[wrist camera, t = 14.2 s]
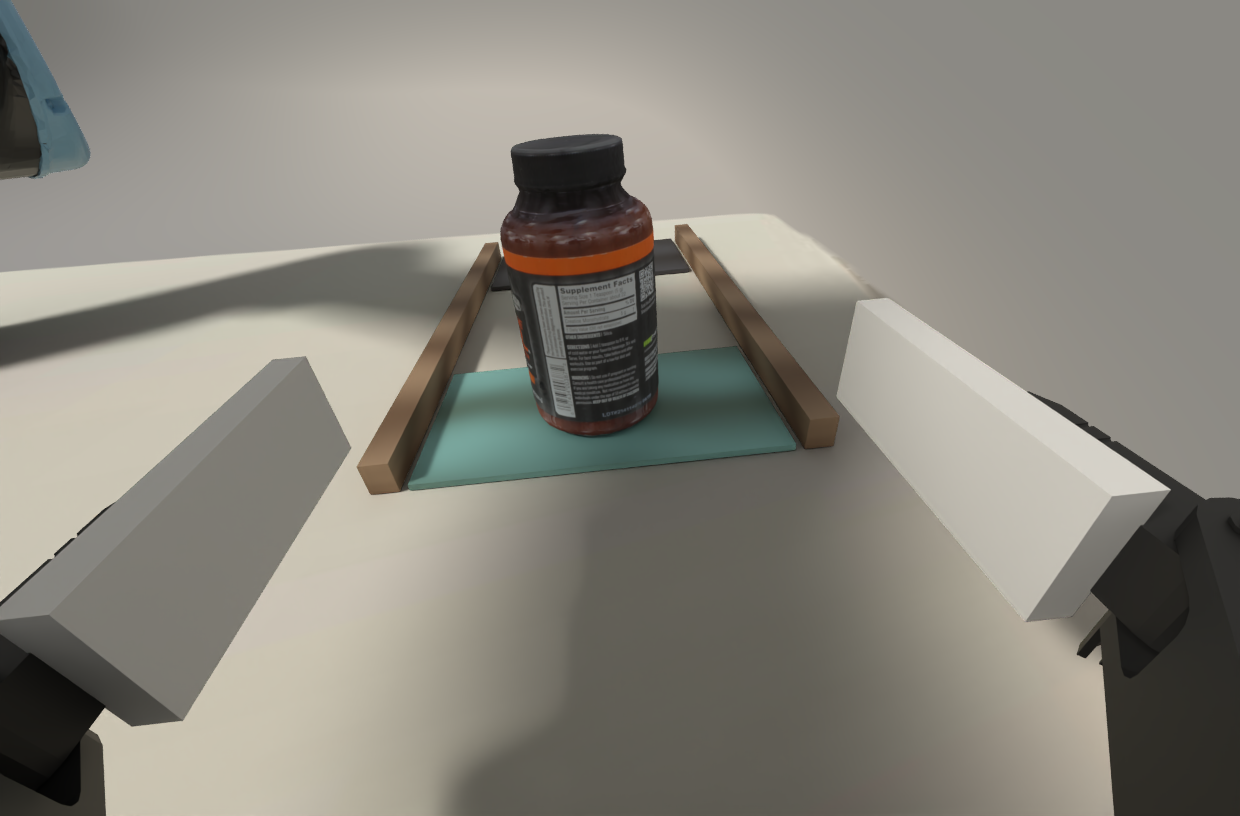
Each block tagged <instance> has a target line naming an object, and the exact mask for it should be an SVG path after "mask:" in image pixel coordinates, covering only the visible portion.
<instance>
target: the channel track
mask: <svg viewBox="0 0 1240 816" xmlns="http://www.w3.org/2000/svg"><path fill="white" fill-rule="evenodd" d="M675 242H676V244H677V245H678V247H679V249H680V250H681V252H682V253H683V255H684V257H685V258H686V260H687V261H688V263H689V265H690V266H691V268H692V269H693V271H694V273H695V274H696V276H697V277H698V279H699V281H700V282H701V284H702V285H703V287H704V289H705V290H706V292H707V293H708V295H709V297H710V298H711V300H712V301H713V303H714V305H715V306H716V308H717V309H718V311H719V313H720V314H721V316H722V317H723V319H724V320H725V322H726V324H727V325H728V327H729V328H730V330H731V332H732V333H733V335H734V336H735V338H736V340H737V341H738V343H739V344H740V346H741V348H742V349H743V351H744V352H745V354H746V356H747V357H748V359H749V360H750V362H751V364H752V365H753V367H754V368H755V370H756V372H757V373H758V375H759V376H760V378H761V380H762V381H763V383H764V384H765V386H766V388H767V389H768V391H769V392H770V394H771V396H772V397H773V399H774V400H775V402H776V404H777V405H778V407H779V408H780V410H781V412H782V413H783V415H784V416H785V418H786V420H787V421H788V423H789V424H790V426H791V428H792V429H793V431H794V432H795V434H796V435H797V437H798V439H799V440H800V442H801V443H802V445H803V447H804V448H805V449H809V448H818V447H828V446H833V445H834V440H835V436H836V432H837V427H838V423H839V418H840V416H839V415H838V414H837V412H836V411H835V410H834V409H833V407H832V406H831V405H830V404H829V402H828V401H827V400H826V398H825V397H824V396H823V395H822V393H821V392H820V391H819V390H818V388H817V387H816V386H815V385H814V383H813V382H812V381H811V380H810V378H809V377H808V376H807V374H806V373H805V372H804V371H803V369H802V368H801V367H800V366H799V364H798V363H797V362H796V361H795V359H794V358H793V357H792V356H791V354H790V353H789V352H788V351H787V349H786V348H785V347H784V345H783V344H782V343H781V342H780V340H779V339H778V338H777V337H776V335H775V334H774V333H773V332H772V330H771V329H770V328H769V327H768V325H767V324H766V323H765V321H764V320H763V319H762V318H761V316H760V315H759V314H758V313H757V311H756V310H755V309H754V308H753V306H752V305H751V304H750V303H749V301H748V300H747V299H746V298H745V296H744V295H743V294H742V292H741V291H740V290H739V289H738V287H737V286H736V285H735V284H734V282H733V281H732V280H731V279H730V277H729V276H728V275H727V274H726V272H725V271H724V270H723V268H722V267H721V266H720V265H719V263H718V262H717V261H716V260H715V258H714V257H713V256H712V255H711V253H710V252H709V251H708V250H707V248H706V247H705V246H704V244H703V243H702V242H701V241H700V239H699V238H698V237H697V236H696V234H695V233H694V232H693V231H692V229H691V228H690V227H689V226H688V224H684V225H675ZM654 256H655V259H654V262H655V275H661V274H672V273H682V272H689V268H688V266H687V264H686V263H685V261H684V259H683V258H682V256H681V254H680V253H679V251H678V250H677V248H676V246H675V245H674V243H673V241H672V240H671V239H662V240H654ZM500 260H501V254H500V249H499V244H498V242H494V243H485V245H484V247H483V248H482V250H481V252H480V254H479V255H478V257H477V259H476V260H475V262H474V264H473V266H472V267H471V269H470V271H469V273H468V274H467V276H466V278H465V280H464V281H463V283H462V285H461V286H460V288H459V290H458V292H457V293H456V295H455V297H454V299H453V300H452V302H451V304H450V306H449V307H448V309H447V311H446V313H445V314H444V316H443V318H442V319H441V321H440V323H439V325H438V326H437V328H436V330H435V332H434V333H433V335H432V337H431V339H430V340H429V342H428V344H427V346H426V347H425V349H424V351H423V352H422V354H421V356H420V358H419V359H418V361H417V363H416V365H415V366H414V368H413V370H412V372H411V373H410V375H409V377H408V379H407V380H406V382H405V384H404V385H403V387H402V389H401V391H400V392H399V394H398V396H397V398H396V399H395V401H394V403H393V405H392V406H391V408H390V410H389V412H388V413H387V415H386V417H385V418H384V420H383V422H382V424H381V425H380V427H379V429H378V431H377V432H376V434H375V436H374V438H373V439H372V441H371V443H370V445H369V446H368V448H367V450H366V451H365V453H364V455H363V457H362V458H361V460H360V462H359V464H358V465H357V469H358V471H359V473H360V475H361V477H362V479H363V481H364V483H365V485H366V487H367V489H368V491H369V493H370V494H371V495H372V494H381V493H391V492H400V490H401V488H402V486H403V484H404V481H405V479H406V477H407V474H408V472H409V470H410V467H411V465H412V463H413V461H414V458H415V456H416V454H417V451H418V449H419V447H420V444H421V442H422V440H423V438H424V435H425V433H426V431H427V428H428V426H429V424H430V421H431V419H432V417H433V414H434V412H435V410H436V408H437V405H438V403H439V401H440V398H441V396H442V394H443V391H444V389H445V387H446V385H447V382H448V380H449V378H450V375H451V373H452V371H453V368H454V366H455V364H456V362H457V359H458V357H459V355H460V352H461V350H462V348H463V345H464V343H465V341H466V338H467V336H468V334H469V332H470V329H471V327H472V325H473V322H474V320H475V318H476V315H477V313H478V311H479V309H480V306H481V304H482V302H483V299H484V297H485V295H486V292H487V290H488V288H489V286H490V283H491V281H492V279H493V276H494V274H495V272H496V269H497V267H498V265H499V263H500ZM491 289H492V291H497V290H507V289H511V287H510V281H509V278H508V272H507V267H506V262H505V257H504V258H503V260H502V263H501V265H500V267H499V270H498V272H497V275H496V277H495V279H494V282H493V284H492V286H491ZM658 376H659V384H658V398H657V402H656V404H655V406H654V408H653V409H652V411H651V412H650V413H649V414H648V415H647V416H646V417H645V418H644V419H642V420H641V421H640V422H638V423H637V424H635V425H633V426H632V427H630V428H627V429H624V430H621V431H617V432H614V433H611V434H602V435H596V436H583V435H575V434H571V433H567V432H564V431H561V430H558V429H556V428H554V427H552V426H550V425H549V424H548V423H547V422H546V421H545V420H544V419H543V418H542V416H541V415H540V413H539V411H538V408H537V405H536V401H535V399H534V395H533V390H532V386H531V380H530V375H529V370H528V367H524V368H514V369H504V370H494V371H484V372H474V373H464V374H454V376H453V379H452V381H451V383H450V386H449V388H448V390H447V393H446V395H445V398H444V400H443V402H442V405H441V407H440V409H439V412H438V414H437V416H436V419H435V421H434V424H433V426H432V428H431V431H430V433H429V435H428V438H427V440H426V443H425V445H424V447H423V450H422V452H421V454H420V457H419V459H418V461H417V464H416V466H415V469H414V471H413V473H412V476H411V478H410V480H409V483H408V487H409V490H419V489H429V488H438V487H448V486H457V485H467V484H476V483H486V482H495V481H505V480H514V479H524V478H533V477H543V476H552V475H562V474H571V473H581V472H590V471H600V470H609V469H619V468H628V467H638V466H647V465H657V464H666V463H676V462H685V461H695V460H704V459H714V458H723V457H733V456H742V455H752V454H761V453H771V452H780V451H790V450H795V449H796V443H795V441H794V440H793V438H792V436H791V435H790V433H789V431H788V430H787V428H786V426H785V425H784V423H783V422H782V420H781V418H780V417H779V415H778V413H777V412H776V410H775V408H774V407H773V405H772V404H771V402H770V400H769V399H768V397H767V395H766V394H765V392H764V390H763V389H762V387H761V386H760V384H759V382H758V381H757V379H756V377H755V376H754V374H753V372H752V371H751V369H750V367H749V366H748V364H747V363H746V361H745V359H744V358H743V356H742V354H741V353H740V351H739V349H738V348H737V346H733V347H723V348H713V349H703V350H693V351H683V352H673V353H663V354H658Z"/></svg>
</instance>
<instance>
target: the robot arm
mask: <svg viewBox="0 0 1240 816" xmlns="http://www.w3.org/2000/svg"><path fill="white" fill-rule="evenodd" d="M89 159H90V149H89V146H88V143H87V141H86V139H85V137H84V135H83V133H82V131H81V129H80V127H79V125H78V123H77V121H76V119H75V117H74V115H73V114H72V112H71V110H70V108H69V106H68V105H67V103H66V101H65V100H64V98H63V95H62V93H61V91H60V90H59V88H58V86H57V83H56V81H55V79H54V77H53V76H52V73H51V72H50V70H49V68H48V66H47V64H46V62H45V61H44V59H43V57H42V55H41V53H40V51H39V50H38V48H37V46H36V44H35V42H34V41H33V39H32V37H31V35H30V33H29V31H28V30H27V28H26V26H25V24H24V22H23V21H22V19H21V17H20V15H19V14H18V12H17V10H16V9H15V7H14V5H13V3H12V1H11V0H0V180H4V179H12V178H20V177H29V178H33V179H36V178H43V177H44V176H46V175H48V174H49V173H54V172H61V171H67V170H73V169H78V168H80V167H83V166H84V165H85V164H87V162H88V161H89ZM836 397H837V398H838V400H839V401H840V402H841V403H842V404H843V406H844V407H845V408H846V409H847V410H848V412H849V413H850V414H851V415H852V416H853V417H854V419H855V420H856V421H857V422H858V423H859V425H860V426H861V427H862V428H863V429H864V431H865V432H866V433H867V434H868V435H869V437H870V438H871V439H872V440H873V441H874V443H875V444H876V445H877V446H878V447H879V449H880V450H881V451H882V452H883V453H884V454H885V456H886V457H887V458H888V459H889V460H890V462H891V463H892V464H893V465H894V466H895V468H896V469H897V470H898V471H899V472H900V474H901V475H902V476H903V477H904V478H905V480H906V481H907V482H908V483H909V484H910V486H911V487H912V488H913V489H914V490H915V492H916V493H917V494H918V495H919V496H920V497H921V499H922V500H923V501H924V502H925V503H926V505H927V506H928V507H929V508H930V509H931V511H932V512H933V513H934V514H935V515H936V517H937V518H938V519H939V520H940V521H941V523H942V524H943V525H944V526H945V527H946V529H947V530H948V531H949V532H950V533H951V534H952V536H953V537H954V538H955V539H956V540H957V542H958V543H959V544H960V545H961V546H962V548H963V549H964V550H965V551H966V552H967V554H968V555H969V556H970V557H971V558H972V560H973V561H974V562H975V563H976V564H977V566H978V567H979V568H980V569H981V570H982V572H983V573H984V574H985V575H986V576H987V577H988V579H989V580H990V581H991V582H992V583H993V585H994V586H995V587H996V588H997V589H998V591H999V592H1000V593H1001V594H1002V595H1003V597H1004V598H1005V599H1006V600H1007V601H1008V603H1009V604H1010V605H1011V606H1012V607H1013V609H1014V610H1015V611H1016V612H1017V613H1018V614H1019V616H1020V617H1021V618H1022V619H1023V620H1024V622H1030V621H1039V620H1047V619H1056V618H1064V617H1072V616H1073V615H1074V613H1075V612H1076V611H1077V610H1078V608H1079V607H1080V606H1081V604H1082V603H1083V602H1084V601H1085V599H1086V598H1087V597H1088V595H1089V594H1090V593H1091V592H1092V593H1093V594H1094V595H1095V596H1096V597H1097V598H1098V599H1099V600H1100V601H1101V602H1102V603H1103V604H1104V605H1105V606H1106V607H1107V608H1108V609H1109V610H1108V611H1107V613H1106V614H1105V615H1104V616H1103V617H1102V619H1101V620H1100V621H1099V622H1098V623H1097V625H1096V626H1095V627H1094V628H1093V629H1092V630H1091V632H1090V633H1089V634H1088V635H1087V636H1086V638H1085V639H1084V640H1083V641H1082V642H1081V643H1080V645H1079V648H1078V652H1077V655H1079V656H1081V657H1084V658H1086V657H1087V656H1088V655H1089V654H1090V653H1091V652H1092V651H1093V650H1094V648H1095V647H1096V646H1099V645H1101V650H1102V660H1101V661H1100V662H1099V664H1100V665H1103V676H1104V689H1105V702H1106V715H1107V728H1108V741H1109V754H1110V766H1111V779H1112V792H1113V805H1114V816H1240V499H1235V498H1209V499H1207V500H1205V499H1204V498H1202V497H1200V496H1199V495H1197V494H1196V493H1194V492H1193V491H1191V490H1190V489H1188V488H1187V487H1185V486H1183V485H1182V484H1180V483H1179V482H1178V481H1176V480H1174V479H1173V478H1172V477H1170V476H1169V475H1167V474H1165V473H1164V472H1162V471H1161V470H1159V469H1158V468H1156V467H1155V466H1153V465H1151V464H1150V463H1149V462H1147V461H1146V460H1144V459H1143V458H1141V457H1139V456H1138V455H1137V454H1135V453H1134V452H1132V451H1131V450H1129V449H1128V448H1126V447H1124V446H1123V445H1121V444H1120V443H1118V442H1117V441H1114V442H1112V441H1111V440H1110V437H1109V436H1108V435H1106V434H1105V433H1103V432H1102V431H1100V430H1099V429H1097V428H1096V427H1094V426H1091V427H1089V426H1088V422H1086V421H1085V420H1083V419H1082V418H1080V417H1079V416H1077V415H1076V414H1074V413H1073V412H1071V411H1070V410H1068V409H1067V408H1065V407H1063V406H1062V405H1060V404H1058V403H1055V402H1053V401H1050V400H1048V399H1045V398H1043V397H1041V396H1038V395H1036V394H1033V393H1031V392H1026V391H1025V390H1023V389H1022V388H1020V387H1019V386H1017V385H1016V384H1014V383H1013V382H1011V381H1010V380H1009V379H1007V378H1006V377H1004V376H1003V375H1001V374H1000V373H998V372H997V371H995V370H994V369H992V368H991V367H989V366H988V365H987V364H985V363H983V362H982V361H981V360H979V359H978V358H976V357H975V356H973V355H972V354H970V353H969V352H967V351H966V350H964V349H963V348H961V347H960V346H959V345H957V344H955V343H954V342H953V341H951V340H950V339H948V338H947V337H945V336H944V335H942V334H941V333H939V332H938V331H936V330H935V329H933V328H932V327H931V326H929V325H928V324H926V323H925V322H923V321H921V320H920V319H919V318H917V317H916V316H914V315H913V314H911V313H910V312H908V311H907V310H905V309H904V308H903V307H901V306H900V305H898V304H897V303H895V302H894V301H892V300H891V299H889V298H880V299H870V300H860V301H857V302H856V307H855V311H854V316H853V321H852V326H851V330H850V335H849V340H848V344H847V349H846V354H845V358H844V363H843V368H842V372H841V377H840V382H839V387H838V391H837V396H836ZM350 449H351V446H350V444H349V442H348V440H347V438H346V436H345V434H344V432H343V430H342V428H341V426H340V424H339V422H338V420H337V418H336V416H335V414H334V412H333V410H332V408H331V406H330V404H329V402H328V400H327V398H326V396H325V394H324V392H323V390H322V388H321V386H320V384H319V382H318V380H317V378H316V376H315V374H314V372H313V370H312V368H311V366H310V364H309V362H308V360H307V358H306V356H304V357H294V358H285V359H275V360H272V361H271V362H270V363H269V364H267V365H266V366H265V367H264V368H263V369H262V370H261V371H260V372H259V373H258V374H256V375H255V376H254V377H253V378H252V379H251V380H250V381H249V382H248V383H247V384H245V385H244V386H243V387H242V388H241V389H240V390H239V391H238V392H237V393H235V394H234V395H233V396H232V397H231V398H230V399H229V400H228V401H227V402H226V403H224V404H223V405H222V406H221V407H220V408H219V409H218V410H217V411H216V412H214V413H213V414H212V415H211V416H210V417H209V418H208V419H207V420H206V421H205V422H203V423H202V424H201V425H200V426H199V427H198V428H197V429H196V430H195V431H194V432H192V433H191V434H190V435H189V436H188V437H187V438H186V439H185V440H184V441H182V442H181V443H180V444H179V445H178V446H177V447H176V448H175V449H174V450H173V451H171V452H170V453H169V454H168V455H167V456H166V457H165V458H164V459H163V460H162V461H160V462H159V463H158V464H157V465H156V466H155V467H154V468H153V469H152V470H150V471H149V472H148V473H147V474H146V475H145V476H144V477H143V478H142V479H141V480H139V481H138V482H137V483H136V484H135V485H134V486H133V487H132V488H131V489H130V490H128V491H127V492H126V493H125V494H124V495H123V496H122V497H121V498H120V499H118V500H117V501H116V502H115V503H113V504H111V505H110V506H108V507H107V508H105V509H104V510H102V511H101V512H100V513H99V514H98V515H97V516H96V517H95V518H94V519H92V520H91V521H90V522H89V523H88V524H87V525H86V526H85V527H83V528H82V529H81V530H80V531H79V532H78V533H77V538H71V539H70V540H69V541H68V542H67V543H66V544H65V545H63V546H62V547H61V548H60V549H59V550H58V551H57V552H56V553H55V554H54V555H55V557H54V558H53V559H48V560H47V561H46V562H45V563H43V564H42V565H41V566H40V567H39V568H38V569H37V570H36V571H35V572H33V573H32V574H31V575H30V576H29V577H28V578H27V579H26V580H25V581H23V582H22V583H21V584H20V585H19V586H18V587H17V588H16V589H14V590H13V591H12V592H11V593H10V594H9V595H8V596H7V597H6V598H4V599H3V600H2V601H1V602H0V816H106V808H105V787H104V765H103V745H102V743H101V741H100V739H99V736H98V735H97V734H95V733H94V732H92V731H91V730H89V728H90V727H91V725H92V724H93V723H94V721H95V720H96V719H97V717H98V716H99V715H100V713H101V712H102V711H103V709H104V708H106V709H107V710H109V711H110V712H112V713H113V714H115V715H116V716H117V717H119V718H120V719H122V720H123V721H124V722H126V723H127V724H129V725H130V726H141V725H149V724H158V723H166V722H175V721H183V720H184V718H185V716H186V715H187V713H188V711H189V710H190V708H191V707H192V705H193V703H194V702H195V700H196V699H197V697H198V695H199V694H200V692H201V690H202V689H203V687H204V686H205V684H206V682H207V681H208V679H209V678H210V676H211V674H212V673H213V671H214V669H215V668H216V666H217V665H218V663H219V661H220V660H221V658H222V656H223V655H224V653H225V652H226V650H227V648H228V647H229V645H230V644H231V642H232V640H233V639H234V637H235V635H236V634H237V632H238V631H239V629H240V627H241V626H242V624H243V623H244V621H245V619H246V618H247V616H248V614H249V613H250V611H251V610H252V608H253V606H254V605H255V603H256V601H257V600H258V598H259V597H260V595H261V593H262V592H263V590H264V589H265V587H266V585H267V584H268V582H269V580H270V579H271V577H272V576H273V574H274V572H275V571H276V569H277V567H278V566H279V564H280V563H281V561H282V559H283V558H284V556H285V555H286V553H287V551H288V550H289V548H290V546H291V545H292V543H293V542H294V540H295V538H296V537H297V535H298V534H299V532H300V530H301V529H302V527H303V525H304V524H305V522H306V521H307V519H308V517H309V516H310V514H311V512H312V511H313V509H314V508H315V506H316V504H317V503H318V501H319V500H320V498H321V496H322V495H323V493H324V491H325V490H326V488H327V487H328V485H329V483H330V482H331V480H332V479H333V477H334V475H335V474H336V472H337V470H338V469H339V467H340V466H341V464H342V462H343V461H344V459H345V457H346V456H347V454H348V453H349V451H350Z"/></svg>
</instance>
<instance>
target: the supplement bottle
mask: <svg viewBox="0 0 1240 816" xmlns="http://www.w3.org/2000/svg"><path fill="white" fill-rule="evenodd" d="M511 158H512V163H513V171H514V182H515V185H516V186H517V187H518V188H519V191H520V192H519V195H518V198H517V201H516V203H515V206H514V208H513V210H512V211H510V212H509V213H508V214H507V216H506V217H505V219H504V221H503V224H502V227H501V231H500V232H501V242H502V248H503V253H504V257H505V262H506V267H507V272H508V278H509V281H510V287H511V291H512V297H513V301H514V306H515V311H516V314H517V318H518V323H519V328H520V333H521V337H522V342H523V347H524V351H525V357H526V361H527V367H528V370H529V375H530V380H531V386H532V390H533V395H534V399H535V401H536V405H537V408H538V411H539V413H540V415H541V416H542V418H543V419H544V420H545V421H546V422H547V423H548V424H549V425H550V426H552V427H554V428H556V429H558V430H561V431H564V432H567V433H571V434H575V435H583V436H596V435H602V434H611V433H614V432H617V431H621V430H624V429H627V428H630V427H632V426H633V425H635V424H637V423H638V422H640V421H641V420H642V419H644V418H645V417H646V416H647V415H648V414H649V413H650V412H651V411H652V409H653V408H654V406H655V404H656V402H657V398H658V384H659V376H658V348H657V317H656V316H657V312H656V288H655V262H654V259H655V256H654V236H653V225H652V218H651V215H650V212H649V210H648V208H647V207H646V206H645V204H643V203H642V202H641V201H640V200H638V199H637V198H635V197H633V196H630V195H629V194H628V193H627V192H626V191H625V190H624V189H623V188H622V186H621V181H622V179H623V177H624V175H625V173H626V168H625V166H624V154H623V143H622V138H620V137H618V136H615V135H609V134H587V135H573V136H563V137H554V138H547V139H538V140H533V141H528V142H524V143H521V144H517V145H515V146H514V147H512V149H511Z"/></svg>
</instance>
